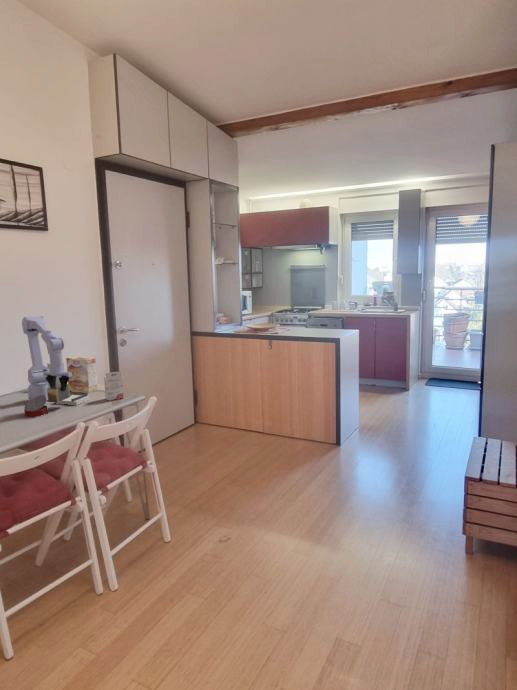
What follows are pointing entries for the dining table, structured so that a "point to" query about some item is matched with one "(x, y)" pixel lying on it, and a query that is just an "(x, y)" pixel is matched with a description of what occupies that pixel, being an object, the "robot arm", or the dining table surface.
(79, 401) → the stand
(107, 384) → the ink cartridge box
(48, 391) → the housing
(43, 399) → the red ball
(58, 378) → the skincare box
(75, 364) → the coffeecake box
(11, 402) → the dining table surface
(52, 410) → the dining table surface
